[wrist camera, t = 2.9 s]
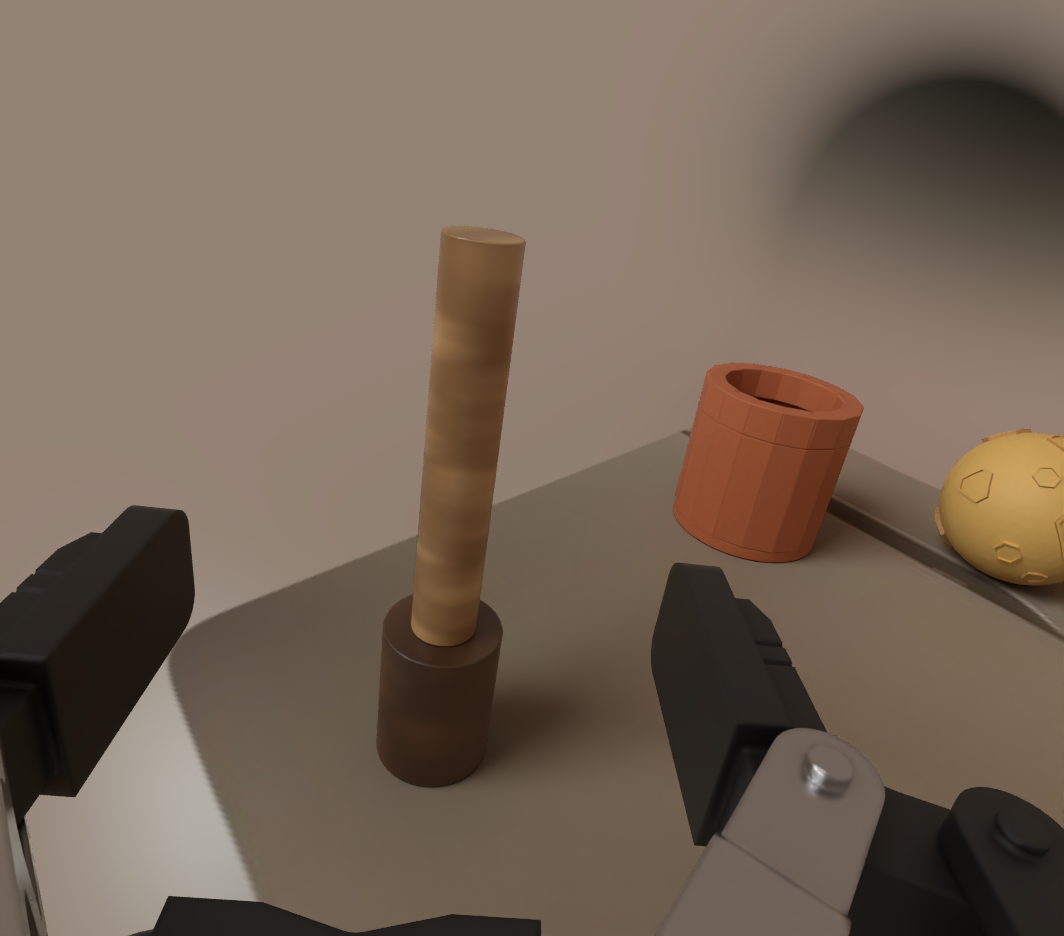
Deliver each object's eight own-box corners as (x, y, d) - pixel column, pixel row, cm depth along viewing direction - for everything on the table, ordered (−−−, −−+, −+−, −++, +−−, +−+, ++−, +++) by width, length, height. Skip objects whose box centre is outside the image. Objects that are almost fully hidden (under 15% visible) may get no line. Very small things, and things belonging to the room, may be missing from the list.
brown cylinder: (352, 751, 28) (371, 222, 19) (421, 686, 32) (462, 216, 23) (444, 808, 26) (511, 257, 17) (505, 732, 30) (586, 244, 21)
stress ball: (947, 520, 54) (1003, 398, 50) (1095, 586, 48) (1174, 454, 44) (892, 556, 48) (950, 420, 44) (1055, 638, 42) (1142, 490, 37)
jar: (653, 526, 47) (688, 385, 43) (695, 477, 55) (729, 353, 51) (799, 581, 44) (854, 433, 39) (822, 520, 51) (870, 391, 47)
